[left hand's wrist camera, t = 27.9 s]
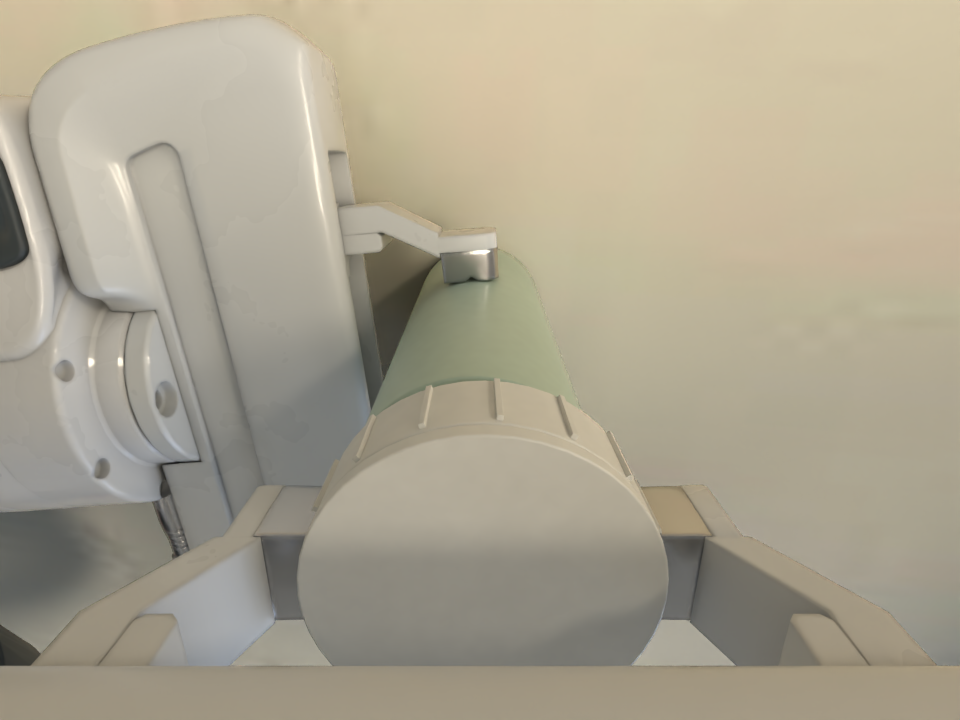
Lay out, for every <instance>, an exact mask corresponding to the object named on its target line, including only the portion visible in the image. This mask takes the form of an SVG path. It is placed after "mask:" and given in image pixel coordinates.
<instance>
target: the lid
mask: <svg viewBox="0 0 960 720" xmlns="http://www.w3.org/2000/svg"><path fill="white" fill-rule="evenodd" d="M311 511H313V512H316V513H315V516H314V518H313V520H312V523H311V525H310V527H309V529H308V531H307V533H306V536H305V538H304V542H303V545H302V548H301V552H300V555H299V562H298V570H297V589H298V598H299V603H300V607H301V612H302V616H303V618H304V621H305V623H306V626H307V628H308V631H309V633H310V635H311V636H312V638H313V640H314V641H315V643H316V645H317V647H318V648H319V650H320V651H321V652H322V653H323V655H324V656H325V657H326V658H327V660H328V661H329V662H330V663H331V664H332V665H333V666H631V665H632V664H633V663H634V662H635V661H636V660H637V658H638V657H639V656H640V655H641V654H642V652H643V651H644V650H645V648H646V647H647V645H648V644H649V642H650V640H651V639H652V637H653V636H654V634H655V632H656V629H657V627H658V625H659V623H660V620H661V618H662V615H663V611H664V608H665V604H666V600H667V592H668V582H669V575H668V560H667V556H666V552H665V548H664V543H663V540H662V538H661V535H660V533H662V531H661V527H660V525H659V523H658V521H657V519H656V517H655V515H654V513H653V511H652V509H651V507H650V505H649V503H648V501H647V499H646V497H645V495H644V493H643V491H642V489H641V487H640V485H639V483H638V481H637V480H634V476H633V474H632V472H631V470H630V468H629V466H628V464H627V462H626V460H625V458H624V456H623V454H622V452H621V450H620V448H619V446H618V444H617V441H616V439H615V437H614V435H613V434H612V433H611V431H609V432H607V433H606V432H605V431H604V430H603V429H602V427H601V426H600V425H598V424H597V423H596V422H595V421H594V420H593V419H592V418H590V417H589V416H588V415H587V414H586V413H584V412H583V411H581V410H580V409H578V408H577V407H575V406H573V405H572V404H570V403H569V402H567V401H566V399H565V397H564V396H562V395H559V396H558V397H556V396H554V395H552V394H550V393H547V392H544V391H541V390H538V389H535V388H532V387H529V386H524V385H519V384H514V383H509V382H500V379H499V378H494V381H463V382H457V383H451V384H445V385H440V386H437V387H433V388H432V385H429V386H426V388H425V390H423V391H420V392H418V393H415V394H413V395H411V396H409V397H406V398H404V399H402V400H400V401H398V402H397V403H395V404H393V405H392V406H390V407H388V408H387V409H385V410H383V411H382V412H381V413H379V414H378V415H377V416H375V415H374V414H372V415H371V416H370V417H369V418H368V421H367V423H366V425H365V426H364V427H363V428H362V429H361V431H360V432H359V433H358V434H357V435H356V436H355V437H354V438H353V440H352V441H351V443H350V444H349V445H348V447H347V448H346V450H345V451H344V453H343V455H342V457H341V459H340V461H339V460H337V459H335V460H334V462H333V465H332V467H331V469H330V471H329V473H328V475H327V477H326V480H325V482H324V484H323V486H322V488H321V490H320V492H319V495H318V497H317V499H316V501H315V503H314V505H313V507H312V510H311Z"/></svg>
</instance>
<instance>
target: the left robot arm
mask: <svg viewBox="0 0 960 720" xmlns="http://www.w3.org/2000/svg"><path fill="white" fill-rule="evenodd" d="M321 488H322V486H298V485H287V486H285V485H262V486H259V487H257V488H256V489H255V491H254V492H253V494H252V495H251V497H250V498H249V499H248V501H247V502H246V504H245V505H244V507H243V508H242V509H241V511H240V512H239V514H238V515H237V517H236V518H235V519H234V521H233V522H232V524H231V525H230V527H229V528H228V529H227V531H226V532H225V534H224V535H223V537H213V538H211V539H210V540H208V541H206V542H204V543H202V544H201V545H199V546H197V547H195V548H193V549H192V550H190V551H188V552H186V553H184V554H182V555H181V556H179V557H177V558H175V559H173V560H172V561H170V562H168V563H166V564H164V565H163V566H161V567H159V568H157V569H155V570H154V571H152V572H150V573H148V574H146V575H144V576H143V577H141V578H139V579H137V580H135V581H134V582H132V583H130V584H128V585H126V586H125V587H123V588H121V589H119V590H117V591H115V592H114V593H112V594H110V595H108V596H106V597H105V598H103V599H101V600H99V601H97V602H96V603H94V604H92V605H90V606H88V607H87V608H85V609H83V610H81V611H79V612H78V614H77V615H76V616H75V617H74V618H73V619H72V620H71V621H70V622H69V624H68V625H67V626H66V627H65V628H64V629H63V630H62V631H61V632H60V634H59V635H58V636H57V637H56V638H55V639H54V640H53V641H52V642H51V643H50V645H49V646H48V647H47V648H46V649H45V650H44V651H43V652H42V653H41V655H40V656H39V657H38V658H37V659H36V660H35V661H34V662H33V663H32V665H31V666H0V720H960V666H937V665H936V664H935V663H934V662H933V660H932V659H931V658H930V657H929V656H928V655H927V654H926V653H925V652H924V651H923V649H922V648H921V647H920V646H919V645H918V644H917V643H916V642H915V641H914V640H913V638H912V637H911V636H910V635H909V634H908V633H907V632H906V631H905V630H904V629H903V628H902V626H901V625H900V624H899V623H898V622H897V621H896V620H895V619H894V618H893V617H892V615H891V614H890V613H889V612H887V611H885V610H884V609H882V608H880V607H878V606H876V605H874V604H873V603H871V602H869V601H867V600H865V599H864V598H862V597H860V596H858V595H856V594H854V593H853V592H851V591H849V590H847V589H845V588H843V587H842V586H840V585H838V584H836V583H834V582H833V581H831V580H829V579H827V578H825V577H823V576H822V575H820V574H818V573H816V572H814V571H813V570H811V569H809V568H807V567H805V566H803V565H802V564H800V563H798V562H796V561H794V560H792V559H791V558H789V557H787V556H785V555H783V554H782V553H780V552H778V551H776V550H774V549H772V548H771V547H769V546H767V545H765V544H763V543H762V542H760V541H758V540H756V539H754V538H752V537H743V536H742V534H741V533H740V532H739V530H738V529H737V527H736V526H735V525H734V523H733V522H732V520H731V519H730V518H729V516H728V515H727V514H726V512H725V511H724V509H723V508H722V507H721V505H720V504H719V502H718V501H717V500H716V498H715V497H714V496H713V494H712V493H711V491H710V490H709V489H708V487H706V486H704V485H683V486H655V487H641V489H642V491H643V493H644V495H645V497H646V499H647V501H648V503H649V505H650V507H651V509H652V511H653V513H654V515H655V517H656V519H657V521H658V523H659V525H660V527H661V531H662V533H660V535H661V538H662V540H663V543H664V548H665V552H666V556H667V560H668V575H669V582H668V592H667V600H666V604H665V608H664V611H663V615H662V618H661V619H669V620H690V623H691V624H692V625H693V626H695V627H696V628H697V629H698V630H699V631H700V632H701V633H702V634H703V635H704V636H705V637H706V638H707V639H708V640H710V641H711V642H712V643H713V644H714V645H715V646H716V647H717V648H718V649H719V650H720V651H721V652H722V653H723V654H725V655H726V656H727V657H728V658H729V659H730V660H731V661H732V662H733V663H734V664H735V665H736V666H230V665H231V664H232V663H233V662H234V661H235V660H236V659H237V658H238V657H239V656H240V655H241V654H242V653H243V652H244V651H245V650H247V649H248V648H249V647H250V646H251V645H252V644H253V643H254V642H255V641H256V640H257V639H258V638H259V637H260V636H261V635H263V634H264V633H265V632H266V631H267V630H268V629H269V628H270V627H271V626H272V625H273V624H274V623H275V620H296V619H304V618H303V616H302V612H301V607H300V603H299V598H298V589H297V570H298V562H299V555H300V552H301V548H302V545H303V542H304V538H305V536H306V533H307V531H308V529H309V527H310V525H311V523H312V520H313V518H314V516H315V513H316V512H313V511H311V510H312V507H313V505H314V503H315V501H316V499H317V497H318V495H319V492H320V490H321Z"/></svg>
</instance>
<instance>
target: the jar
mask: <svg viewBox="0 0 960 720" xmlns="http://www.w3.org/2000/svg"><path fill="white" fill-rule="evenodd" d="M497 250H498V270H499V277H498V278H495V279H492V280H484V281H478V280H477V279H475V278H473V277H470V278H469V279H468V280H467V281H465V282H459V283H445V284H444V278H443V270H442V263H441V260H440V261H439V262H437V264H436V265H435V266H434V267H433V268H432V269H431V271H430V272H429V274H428V276H427V278H426V280H425V282H424V284H423V287H422V289H421V291H420V294H419V296H418V299H417V301H416V303H415V306H414V308H413V311H412V313H411V316H410V318H409V320H408V323H407V325H406V328H405V330H404V332H403V335H402V337H401V340H400V342H399V345H398V347H397V349H396V352H395V354H394V357H393V359H392V361H391V364H390V366H389V369H388V371H387V374H386V376H385V378H384V381H383V383H382V386H381V388H380V390H379V393H378V395H377V398H376V400H375V403H374V405H373V407H372V410H371V412H370V415H369V417H370V416H371V415H372V414H374V415H375V416H377V415H378V414H379V413H381V412H382V411H383V410H385V409H387V408H388V407H390V406H392V405H393V404H395V403H397V402H398V401H400V400H402V399H404V398H406V397H409V396H411V395H413V394H415V393H418V392H420V391H423V390H425V388H426V386H429V385H432V388H433V387H437V386H440V385H445V384H451V383H457V382H463V381H494V378H499V379H500V382H509V383H514V384H519V385H524V386H529V387H532V388H535V389H538V390H541V391H544V392H547V393H550V394H552V395H554V396H556V397H558V396H559V395H562V396H564V397H565V399H566V401H567V402H569V403H570V404H572V405H573V406H575V407H577V408H578V409H580V406H579V403H578V401H577V398H576V395H575V393H574V390H573V387H572V384H571V382H570V379H569V376H568V374H567V371H566V368H565V365H564V363H563V360H562V357H561V355H560V352H559V349H558V347H557V344H556V341H555V338H554V336H553V333H552V330H551V328H550V325H549V322H548V319H547V317H546V314H545V311H544V309H543V306H542V303H541V300H540V298H539V295H538V292H537V290H536V287H535V284H534V282H533V280H532V277H531V276H530V274H529V272H528V271H527V269H526V268H525V267H524V266H523V265H522V264H521V263H520V262H519V261H518V260H517V259H516V258H514V257H513V256H512V255H510V254H508V253H506V252H504V251H502V250H499V249H497ZM580 410H581V409H580ZM369 417H368V418H369ZM367 421H368V419H367ZM366 423H367V422H366ZM365 425H366V424H365Z"/></svg>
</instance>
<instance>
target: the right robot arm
mask: <svg viewBox="0 0 960 720" xmlns="http://www.w3.org/2000/svg"><path fill="white" fill-rule="evenodd" d="M393 238H395V239H398V240H400V241H402V242H404V243H407V244H409V245H411V246H413V247H416V248H418V249H420V250H422V251H424V252H427V253H429V254H431V255H433V256H436V257H438V258H440V257H441V263H442V270H443V278H444V284H445V283H459V282H465V281H467V280H468V279H469V278H470V277H473V278H475V279H477V280H478V281H484V280H492V279H495V278H498V277H499V270H498V250H497V236H496V228H494V227H481V228H468V229H456V230H444V231H442V227H441V226H439V225H437V224H435V223H433V222H430V221H428V220H426V219H424V218H422V217H420V216H418V215H416V214H414V213H412V212H410V211H408V210H406V209H404V208H402V207H399V206H397V205H395V204H393V203H391V202H389V201H384V202H372V203H360V204H356V200H355V194H354V187H353V181H352V175H351V168H350V162H349V155H348V149H347V142H346V136H345V130H344V123H343V117H342V110H341V104H340V97H339V91H338V84H337V78H336V72H335V68H334V66H333V63H332V62H331V60H330V59H329V57H328V56H327V55H326V54H324V53H323V52H322V51H321V50H320V49H319V48H318V47H317V46H316V45H315V44H314V43H312V42H311V41H310V40H309V39H308V38H307V37H306V36H304V35H303V34H302V33H300V32H299V31H297V30H296V29H294V28H293V27H291V26H290V25H288V24H286V23H285V22H283V21H280V20H278V19H276V18H273V17H269V16H264V15H252V14H249V15H236V16H226V17H219V18H211V19H204V20H198V21H192V22H186V23H181V24H175V25H170V26H166V27H161V28H156V29H152V30H148V31H143V32H139V33H135V34H130V35H127V36H123V37H120V38H116V39H113V40H109V41H106V42H102V43H99V44H95V45H92V46H89V47H86V48H84V49H81V50H78V51H76V52H74V53H72V54H70V55H68V56H66V57H64V58H63V59H61V60H60V61H58V62H57V63H55V64H54V65H53V66H52V67H51V68H50V69H48V70H47V71H46V72H45V74H44V75H43V76H42V77H41V79H40V80H39V82H38V83H37V85H36V87H35V89H34V91H33V94H32V96H15V95H0V512H20V511H33V510H48V509H62V508H76V507H87V506H100V505H115V504H130V503H145V502H152V503H153V506H154V509H155V512H156V515H157V517H158V520H159V523H160V525H161V527H162V529H163V531H164V533H165V535H166V536H167V539H168V540H169V543H170V546H171V549H172V552H173V554H172V559H175V558H177V557H179V556H181V555H182V554H184V553H186V552H188V551H190V550H192V549H193V548H195V547H197V546H199V545H201V544H202V543H204V542H206V541H208V540H210V539H211V538H213V537H223V535H224V534H225V532H226V531H227V529H228V528H229V527H230V525H231V524H232V522H233V521H234V519H235V518H236V517H237V515H238V514H239V512H240V511H241V509H242V508H243V507H244V505H245V504H246V502H247V501H248V499H249V498H250V497H251V495H252V494H253V492H254V491H255V489H256V488H257V487H259V486H262V485H285V486H287V485H298V486H323V484H324V482H325V480H326V477H327V475H328V473H329V471H330V469H331V467H332V465H333V462H334V460H335V459H337V460H339V461H340V459H341V457H342V455H343V453H344V451H345V450H346V448H347V447H348V445H349V444H350V443H351V441H352V440H353V438H354V437H355V436H356V435H357V434H358V433H359V432H360V431H361V429H362V428H363V427H364V426H365V424H366V422H367V419H368V417H369V415H370V412H371V410H372V407H373V405H374V403H375V400H376V398H377V395H378V393H379V390H380V388H381V386H382V383H383V381H384V380H383V374H382V367H381V361H380V355H379V348H378V342H377V335H376V329H375V322H374V316H373V310H372V303H371V297H370V290H369V284H368V277H367V271H366V265H365V258H364V254H366V253H377V252H380V251H382V250H383V249H384V248H385V247H386V246H387V245H388V244H389V243H390V242H391V241H392V240H393ZM40 655H41V654H40V653H39V652H38V651H37V650H36V649H35V648H34V647H33V646H32V645H30V644H29V643H27V642H26V641H24V640H23V639H21V638H19V637H18V636H16V635H15V634H13V633H12V632H10V631H9V630H7V629H6V628H4V627H3V626H1V625H0V666H31V665H32V663H33V662H34V661H35V660H36V659H37V658H38V657H39V656H40Z"/></svg>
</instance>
